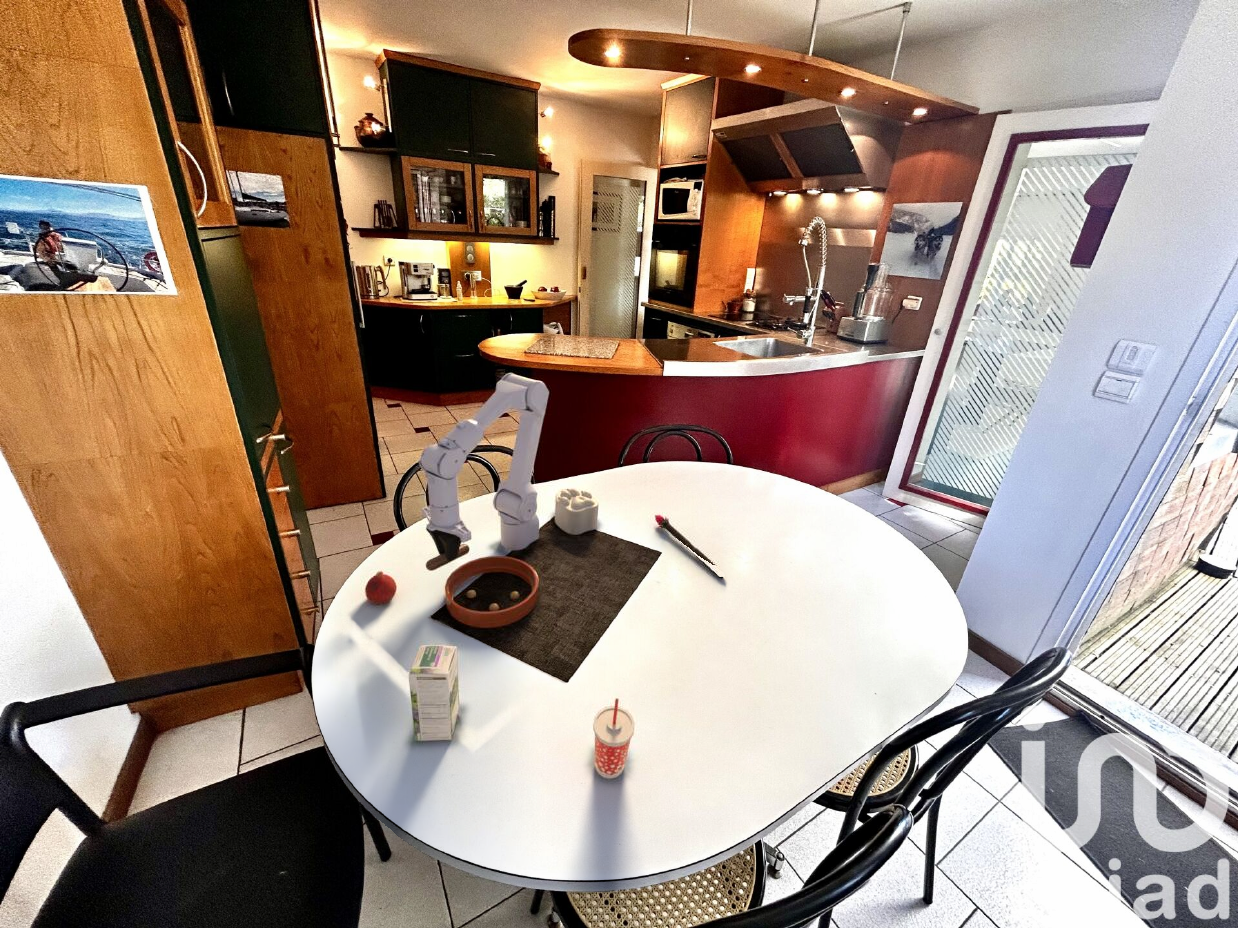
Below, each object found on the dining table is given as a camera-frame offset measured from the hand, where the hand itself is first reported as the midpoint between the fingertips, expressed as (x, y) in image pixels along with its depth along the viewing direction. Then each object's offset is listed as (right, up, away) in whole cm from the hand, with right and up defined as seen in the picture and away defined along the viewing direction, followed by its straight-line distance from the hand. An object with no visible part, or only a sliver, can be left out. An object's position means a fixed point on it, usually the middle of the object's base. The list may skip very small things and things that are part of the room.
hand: (448, 556), depth 106 cm
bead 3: (+14, -9, 0) cm, 17 cm away
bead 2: (+11, -10, -4) cm, 15 cm away
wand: (+55, -3, +25) cm, 61 cm away
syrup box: (+8, -22, -27) cm, 36 cm away
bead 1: (+5, -8, 0) cm, 10 cm away
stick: (0, -1, +1) cm, 1 cm away
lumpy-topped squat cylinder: (+24, +4, +33) cm, 41 cm away
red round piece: (-13, -10, -3) cm, 16 cm away
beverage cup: (+36, -27, -30) cm, 54 cm away
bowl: (+10, -10, +1) cm, 14 cm away
